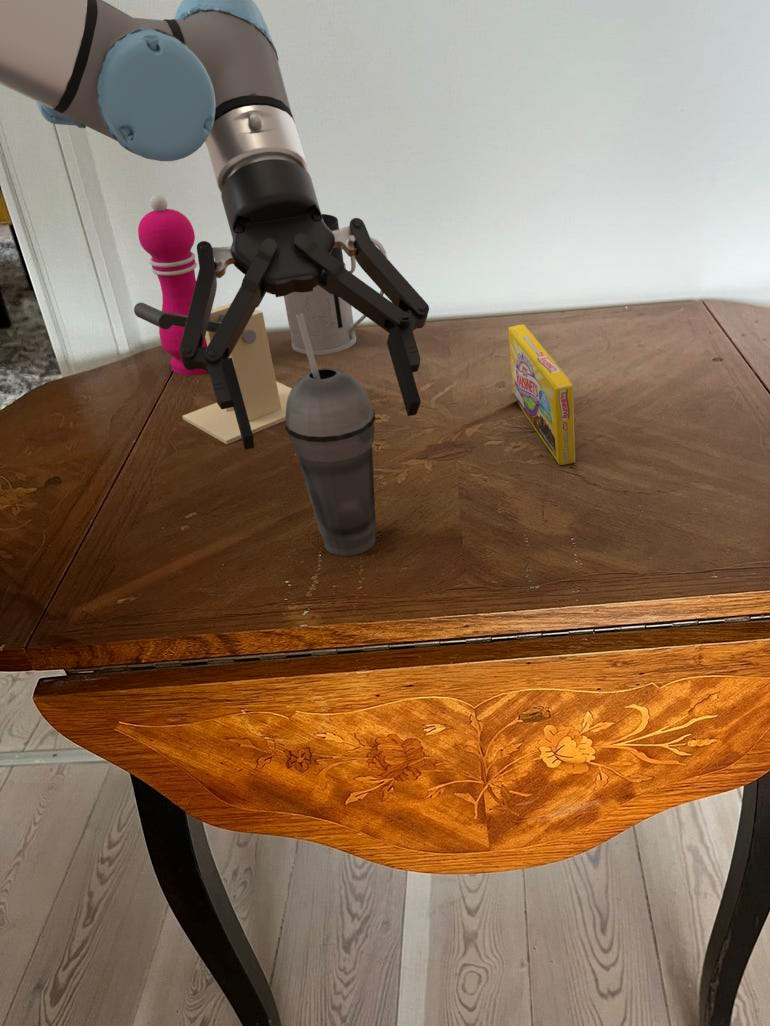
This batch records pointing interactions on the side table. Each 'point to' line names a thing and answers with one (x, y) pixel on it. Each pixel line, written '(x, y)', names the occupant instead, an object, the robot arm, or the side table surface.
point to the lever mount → (246, 385)
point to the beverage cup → (335, 453)
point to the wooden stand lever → (168, 317)
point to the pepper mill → (171, 269)
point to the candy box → (543, 393)
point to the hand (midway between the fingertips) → (333, 426)
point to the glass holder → (324, 311)
